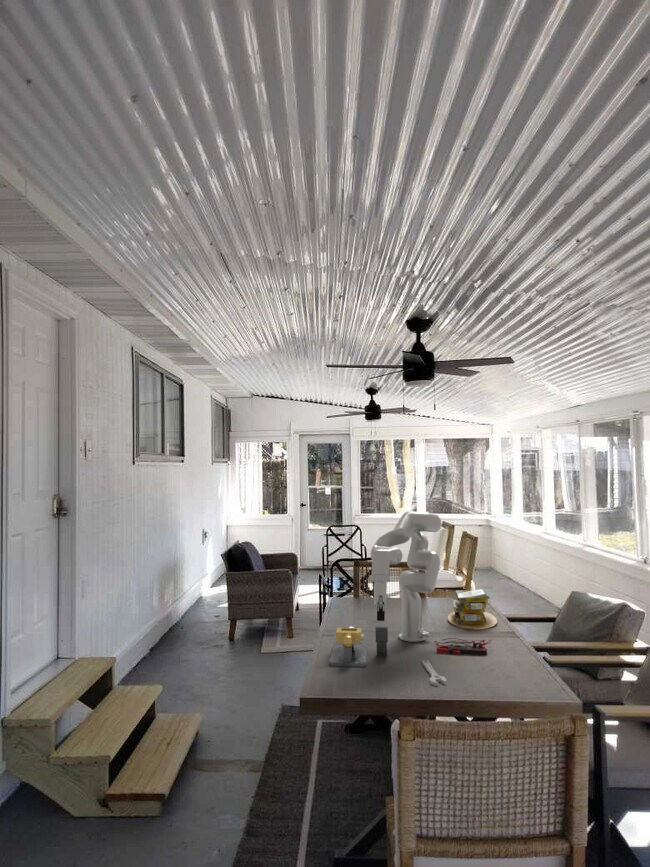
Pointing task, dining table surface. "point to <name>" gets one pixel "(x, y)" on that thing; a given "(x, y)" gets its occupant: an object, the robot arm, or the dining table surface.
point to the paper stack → (471, 610)
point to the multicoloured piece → (349, 648)
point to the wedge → (381, 640)
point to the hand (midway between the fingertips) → (380, 617)
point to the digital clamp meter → (463, 648)
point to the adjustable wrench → (433, 674)
